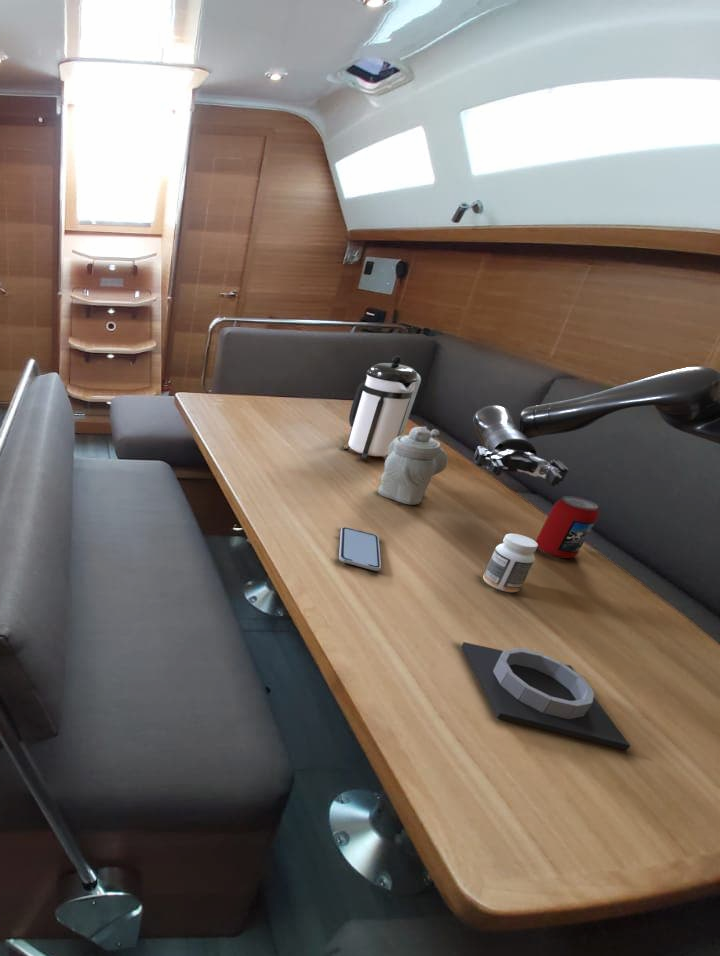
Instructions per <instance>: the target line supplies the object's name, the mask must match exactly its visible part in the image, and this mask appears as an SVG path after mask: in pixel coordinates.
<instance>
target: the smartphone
mask: <svg viewBox="0 0 720 956" xmlns="http://www.w3.org/2000/svg"><path fill="white" fill-rule="evenodd" d="M339 536H340V537H339V553H338V559H339V561H340V562H343V563H346V564H348V565H353V566H356V567H360V568H363V569H368V570H371V571H375V572H379V571H380V570H381V568H382V563H381V562H382V561H381V549H380V537H379V535H378V534H375V533H372V532H368V531H364V530H359V529H356V528H351V527H347V526H342V527H341V528H340V535H339Z"/></svg>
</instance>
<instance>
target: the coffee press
mask: <svg viewBox="0 0 720 956" xmlns="http://www.w3.org/2000/svg"><path fill="white" fill-rule="evenodd" d="M391 360H392V362H381V363H375V364H374V365H372V366H371V367H370V368H369V369H368V370H367V371H366V379H364V380H362V381H361V382H360V383H359V384H358V386H357V388H356V390H355V394H354V396H353V397H354V398H353V401H352V403H351V407H350V411H349V417H348V421H349V426H350V427H351V428H350V433H349V435H348V439H347V441H346V442H344V443H343V444H342V445H341V449H343V450H348V449H351V450H353V451H355V452H357V453H359V454H361V455H360V459H359V461H363V462H366V461H367V458H368V456H369V457H386V458H387V457H388V447H389V445H390V444H391V442H392V441H393V440H394V439H396V438H397V437H398V436H399V433H400V430H401V427H402V424H403V421H404V418H405V415H406V412H407V409H408V406H409V403H410V400H409V399H411V396H412V393H413V387H414V384H415V383H416V382H417V381H418V377H417V373H418V372H417V371H416V370H415V369H414V368H413V367H411V366H408V365H405V364H400V363H401V362H402V357H401V356H399V355H395V356H393V357H392V359H391ZM408 402H409V403H408ZM346 444H348V446H347V447H344V445H346Z"/></svg>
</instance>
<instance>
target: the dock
mask: <svg viewBox="0 0 720 956" xmlns="http://www.w3.org/2000/svg"><path fill="white" fill-rule="evenodd" d="M461 648H462V651H463V652H464V655H465V656H466V659H467V660H468V662H469V665H470V666H471V668H472V670H473V673H474V675H475V677H476V678H477V681H478V682H479V685H480V686H481V688H482V691H483V692H484V695H485V697H486V698H487V700H488V702H489V705H490V706H491V708H492V710H493V713H494V714H495V716H496V718H497V719H499V720H503V721H507V722H512V723H516V724H518V725H523V726H527V727H530V728H535V729H540V730H542V731H546V732H551V733H554V734H555V733H556V734H558V735H563V736H567V737H571V738H576V739H578V740H582V741H587V742H590V743H595V744H597V745H602V746H606V747H610V748H614V749H619V750H623V751H628V749H630V746H631V744H630V743H629V742H628V740H627V739H626V737H624V735H623V734H622V732H621V731H620V730H619V728H618V727H617V725H615V723H614V722H613V720H612V719H611V718H610V716H609V714H608V713H607V712H606V711H605V710H604V708H603V706H601V704H600V703H599V701H598V700H597V699H596V697H595V691H594V689H592V687H591V685H590V684H589V683H588V681H587V680H586V679H585V678H584V677H583V675H581V674H579V673H578V672H576V670H575V669H574V667H572V665H570V664H567V663H566V664H565V663H563V662H562V661H558V660H556V659H554V658H552V657H550V656H547V655H545V654H544V653H540V652H538V651H534V650H529V649H524V648H521V647H520V648H519V647H515V648H510V649H504V650H502V649H497V648H493V647H488V646H483V645H480V644H475V643H469V642H465V641H464V642H463V643H462V645H461Z"/></svg>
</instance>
